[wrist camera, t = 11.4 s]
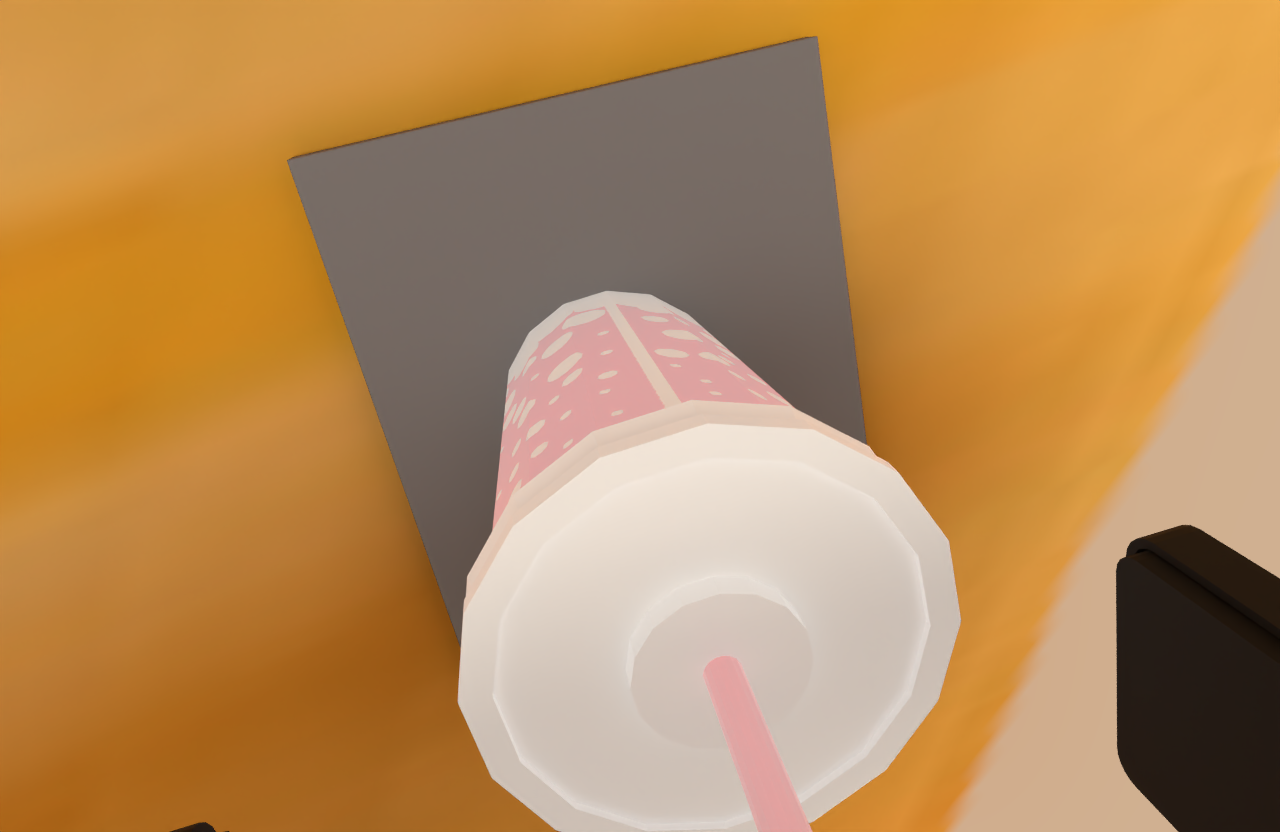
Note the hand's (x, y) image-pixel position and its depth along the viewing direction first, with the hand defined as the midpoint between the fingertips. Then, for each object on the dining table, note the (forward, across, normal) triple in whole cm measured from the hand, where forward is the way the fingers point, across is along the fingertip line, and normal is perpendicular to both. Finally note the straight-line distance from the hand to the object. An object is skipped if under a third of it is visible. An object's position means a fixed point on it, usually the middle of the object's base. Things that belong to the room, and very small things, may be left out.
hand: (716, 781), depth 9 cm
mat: (+11, -1, 0) cm, 11 cm away
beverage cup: (+11, -1, 0) cm, 11 cm away
